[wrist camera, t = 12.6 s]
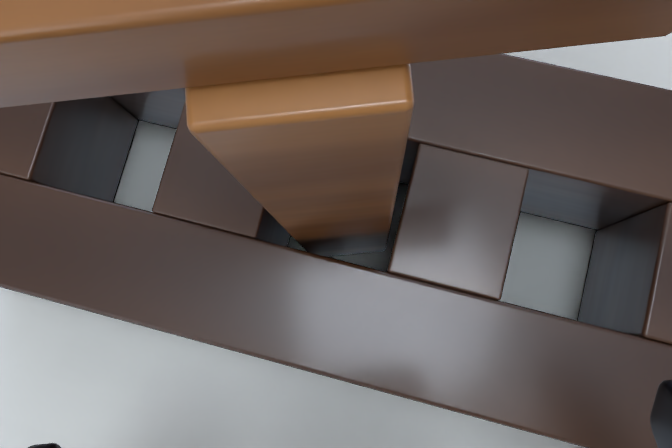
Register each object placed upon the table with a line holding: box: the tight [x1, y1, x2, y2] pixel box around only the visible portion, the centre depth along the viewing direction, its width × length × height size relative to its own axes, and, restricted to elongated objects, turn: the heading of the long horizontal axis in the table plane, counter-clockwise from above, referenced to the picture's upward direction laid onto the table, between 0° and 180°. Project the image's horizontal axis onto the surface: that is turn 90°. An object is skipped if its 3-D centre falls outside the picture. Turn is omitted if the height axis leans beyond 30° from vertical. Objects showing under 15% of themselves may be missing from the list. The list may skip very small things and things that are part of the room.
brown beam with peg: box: [0, 0, 672, 257], centre depth 11 cm, size 2×7×16 cm, turn 95°
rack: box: [0, 54, 672, 448], centre depth 16 cm, size 8×19×4 cm, turn 76°
